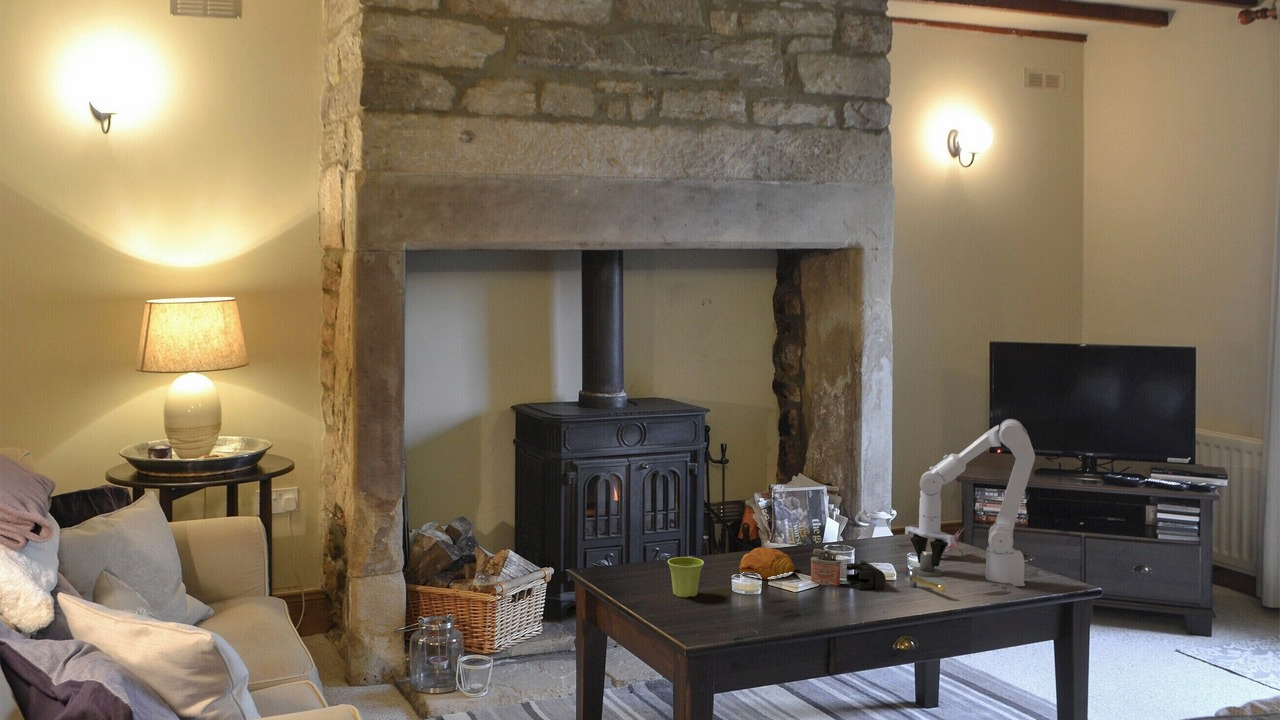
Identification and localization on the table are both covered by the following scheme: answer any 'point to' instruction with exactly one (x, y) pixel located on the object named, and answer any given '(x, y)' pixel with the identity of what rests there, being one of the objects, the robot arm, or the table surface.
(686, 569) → the plant pot
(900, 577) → the table surface
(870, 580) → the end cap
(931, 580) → the panel
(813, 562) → the lighter
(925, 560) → the plug
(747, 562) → the croissant
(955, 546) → the lily
